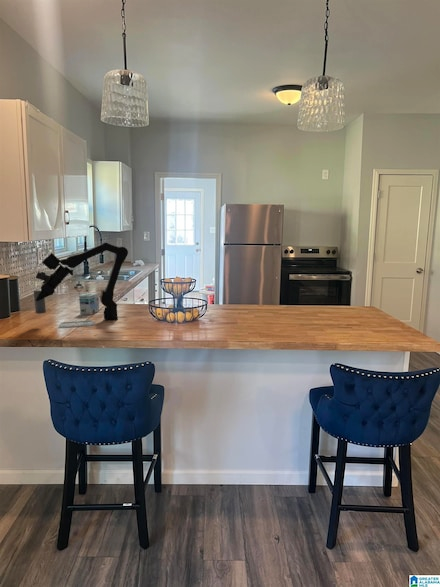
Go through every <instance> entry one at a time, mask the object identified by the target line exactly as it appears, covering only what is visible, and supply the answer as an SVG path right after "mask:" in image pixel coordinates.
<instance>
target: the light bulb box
mask: <svg viewBox="0 0 440 587" xmlns="http://www.w3.org/2000/svg"><path fill="white" fill-rule="evenodd" d="M99 296H100V295H99V293H98V292H87V293H83V294H81V295H79V297H78V298H79V299H78V300H79V311H80V312H79V313H80V315H94V314H95V313H98V312H100V301H99V300H100V297H99Z"/></svg>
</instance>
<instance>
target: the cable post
mask: <svg viewBox="0 0 440 587" xmlns="http://www.w3.org/2000/svg"><path fill="white" fill-rule="evenodd" d="M40 292H41V289H38V290H34V291H33V299H34V308H35V310H34V311H35V314H45V313H47V309H46V300H45V299H46V297H45V298H43V299H41V300H39V301H36V298H37V297H38V295H39V294H40Z"/></svg>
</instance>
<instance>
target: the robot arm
mask: <svg viewBox="0 0 440 587" xmlns="http://www.w3.org/2000/svg"><path fill="white" fill-rule="evenodd" d="M106 251H107V252H109V253H113V254H114V259H113V260H114V261H113V265H112V268H111V272H110V275H109V278H108V281H107V284H106V287H105V289H101V290H100V292H101V293H100V295H98V296H99V300H100V301H99V302H100V303H101V304H102V305H103V306H105V307H104V310H103V319H104V321H117V320H118V319H119V317H118V304H117V303H116V301H114V292H115V287H116V284H117V280H118V277H119V273H120V271H121V268H122V265H123V264H124V262H125V261H126V258H127V257H128V254H129V250H128V249H127V248H126V247H124V246H121V245H120V246H116V245H112V244H110V243H108V242H103V243H101V244H99V245H97V246H95V247H93V248H90V249H88V250H86V251H83V252H81V253H76V254H73V255H69V256H67V257H66V258H64V259H60V258H58V257H57V256H56V255H55V254H54V253H53V252H50V254H49V255H48V256H46V257H45V258H44V259H43V260H42V261H41V264H43V265H44V266H45V267H46V268H48V269H49V270H51V271H52V270H54V271H53V272H52V273H50V274H48V273H46V272H45V271H44V272H43V271H37V273H36V276H35V279H37V280H41V281H42V284H41V286H40V290H41V292H40V294H39V295H38V297H37V298H36V301H39V300H41V299H43V298H45V299H46V298H48V297H49V296H53V295H54V294H55V292H56V291H55V290H56V289H57V287H58V286H59V285H60V284H62V283H63V281H64V280H65V278H67V276H68V275H71V276H74V269H75V268H77V267H78V266H79V265H81V264H82V263H83V262H84V261H86V260H89V259H90V258H93V257H95V256H97V255H99V254H101V253H103V252H104V253H105V252H106Z"/></svg>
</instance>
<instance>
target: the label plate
mask: <svg viewBox="0 0 440 587" xmlns="http://www.w3.org/2000/svg"><path fill="white" fill-rule="evenodd" d="M94 322H95V320H94V319H92V320H78V321H77V320H76V321H62V322H60V324H59V326H58V328H59V329H66V328H67V329H68V328H77V327H78V328H79V327H92V326H94Z"/></svg>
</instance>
